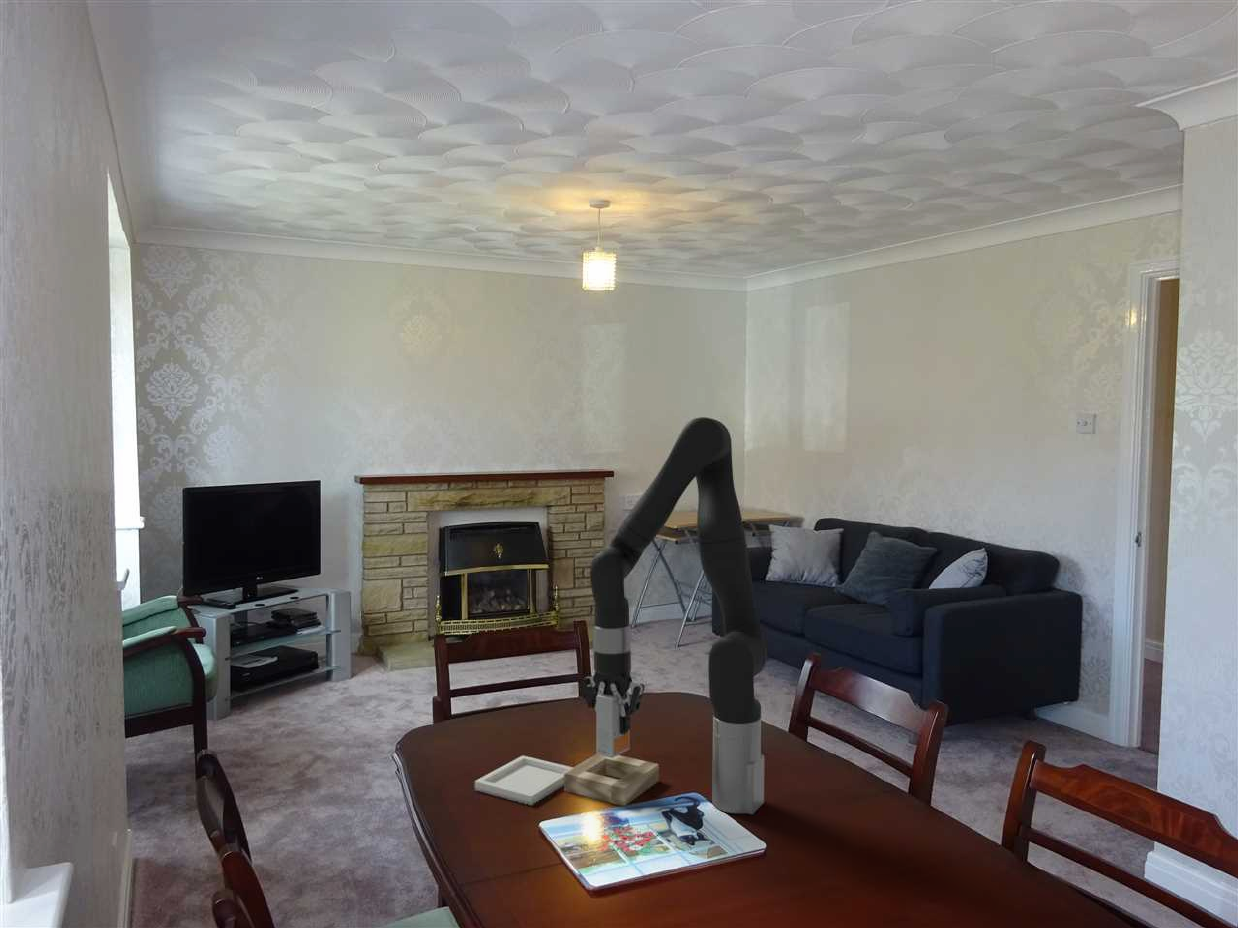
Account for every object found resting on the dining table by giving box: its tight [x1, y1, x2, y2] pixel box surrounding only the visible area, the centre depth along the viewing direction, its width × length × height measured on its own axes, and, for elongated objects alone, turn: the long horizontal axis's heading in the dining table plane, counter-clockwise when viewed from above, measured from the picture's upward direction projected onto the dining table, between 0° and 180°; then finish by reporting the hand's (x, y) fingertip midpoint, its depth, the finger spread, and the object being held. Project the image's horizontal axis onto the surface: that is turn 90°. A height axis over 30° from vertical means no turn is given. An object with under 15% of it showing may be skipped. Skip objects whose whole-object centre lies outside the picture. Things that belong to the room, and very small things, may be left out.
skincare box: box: [595, 691, 630, 758], centre depth 177 cm, size 6×4×12 cm
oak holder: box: [563, 753, 660, 807], centre depth 177 cm, size 14×14×4 cm
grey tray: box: [474, 755, 574, 806], centre depth 178 cm, size 14×16×2 cm
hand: (613, 730), depth 177 cm, fingers closed on skincare box, 4 cm apart
